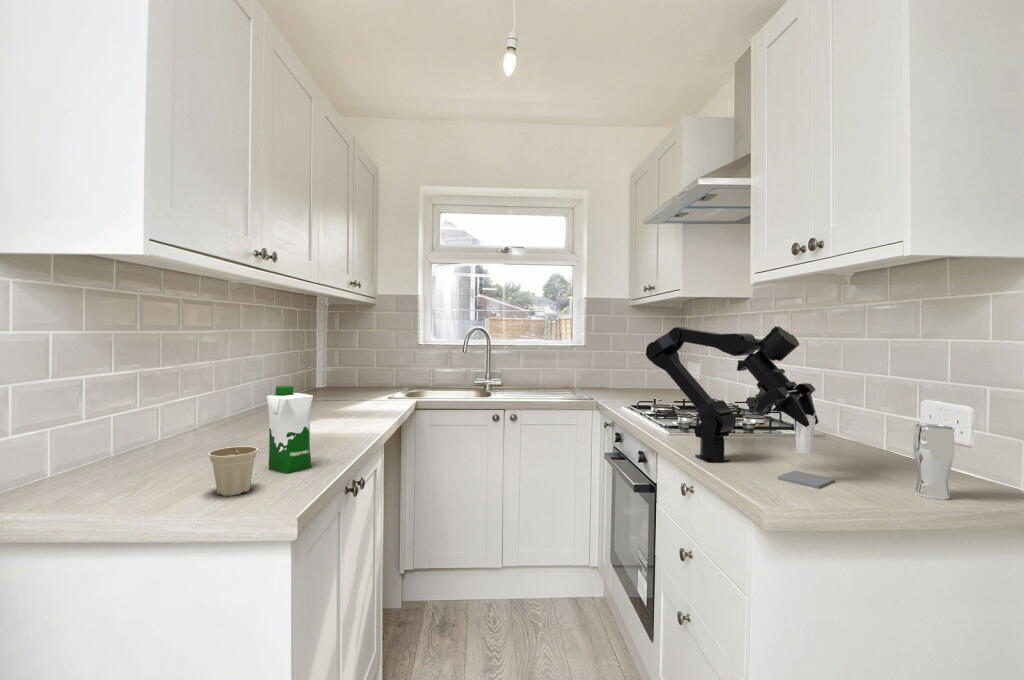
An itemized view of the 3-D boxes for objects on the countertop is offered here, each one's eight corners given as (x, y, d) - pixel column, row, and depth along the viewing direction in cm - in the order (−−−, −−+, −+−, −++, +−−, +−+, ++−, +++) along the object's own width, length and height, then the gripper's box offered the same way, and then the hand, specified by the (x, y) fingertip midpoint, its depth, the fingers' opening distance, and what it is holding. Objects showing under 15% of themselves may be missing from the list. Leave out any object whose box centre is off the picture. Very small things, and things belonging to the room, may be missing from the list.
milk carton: (294, 461, 137) (294, 384, 136) (317, 467, 132) (317, 386, 132) (262, 469, 130) (262, 387, 129) (286, 475, 125) (286, 390, 124)
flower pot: (203, 490, 113) (203, 449, 113) (251, 482, 119) (251, 443, 119) (213, 501, 106) (213, 458, 106) (263, 492, 112) (263, 451, 112)
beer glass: (950, 494, 116) (953, 425, 116) (954, 502, 110) (957, 430, 110) (911, 488, 120) (913, 422, 120) (912, 496, 114) (915, 426, 114)
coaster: (777, 479, 126) (777, 476, 126) (794, 472, 132) (794, 470, 132) (818, 488, 119) (818, 485, 119) (834, 481, 125) (834, 478, 125)
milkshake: (805, 456, 122) (807, 413, 122) (788, 450, 127) (789, 409, 127) (822, 455, 123) (823, 412, 123) (803, 449, 129) (805, 408, 128)
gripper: (761, 391, 143) (803, 439, 135) (724, 396, 131) (767, 449, 123) (793, 363, 136) (839, 413, 128) (757, 366, 125) (805, 421, 116)
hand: (812, 424), depth 124 cm, fingers closed on milkshake, 4 cm apart
